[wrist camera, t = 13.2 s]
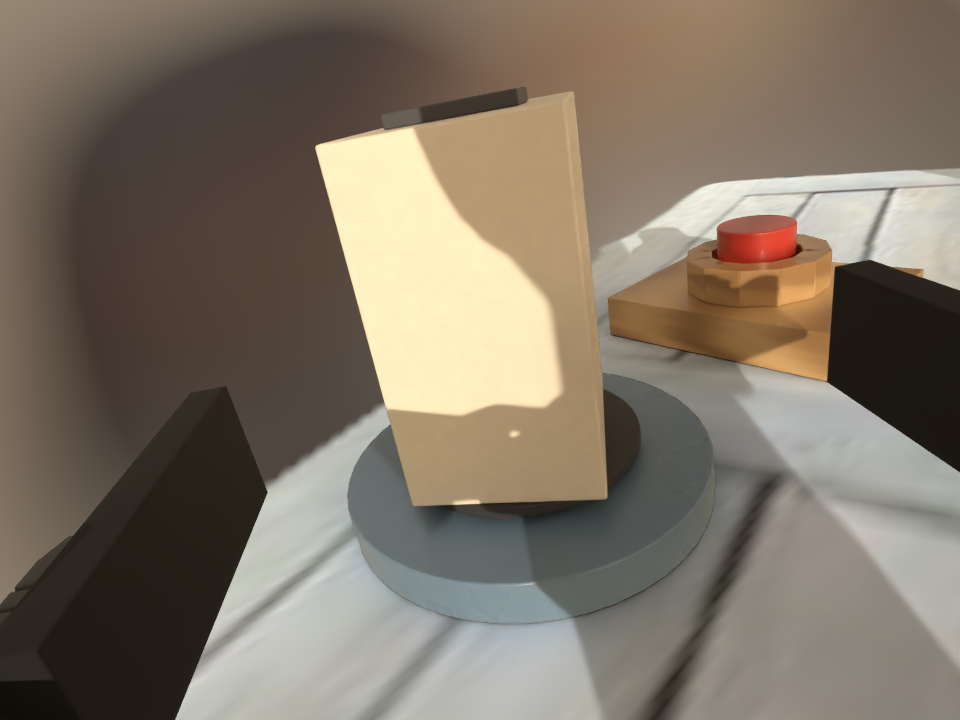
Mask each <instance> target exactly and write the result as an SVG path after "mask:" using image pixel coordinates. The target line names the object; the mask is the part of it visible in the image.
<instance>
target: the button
mask: <svg viewBox="0 0 960 720" xmlns="http://www.w3.org/2000/svg"><path fill="white" fill-rule="evenodd" d="M796 239H797V221H796V220H795V219H794V218H791V217H787V216H780V215H757V216H747V217H741V218H736V219H732V220H729V221H726V222H723V223H721V224H720V225H718V227H717V260H720V261H722V262H730V263H741V264H750V263H765V262H774V261H779V260H783V259H787V258H792V257H794V256H796Z"/></svg>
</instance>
